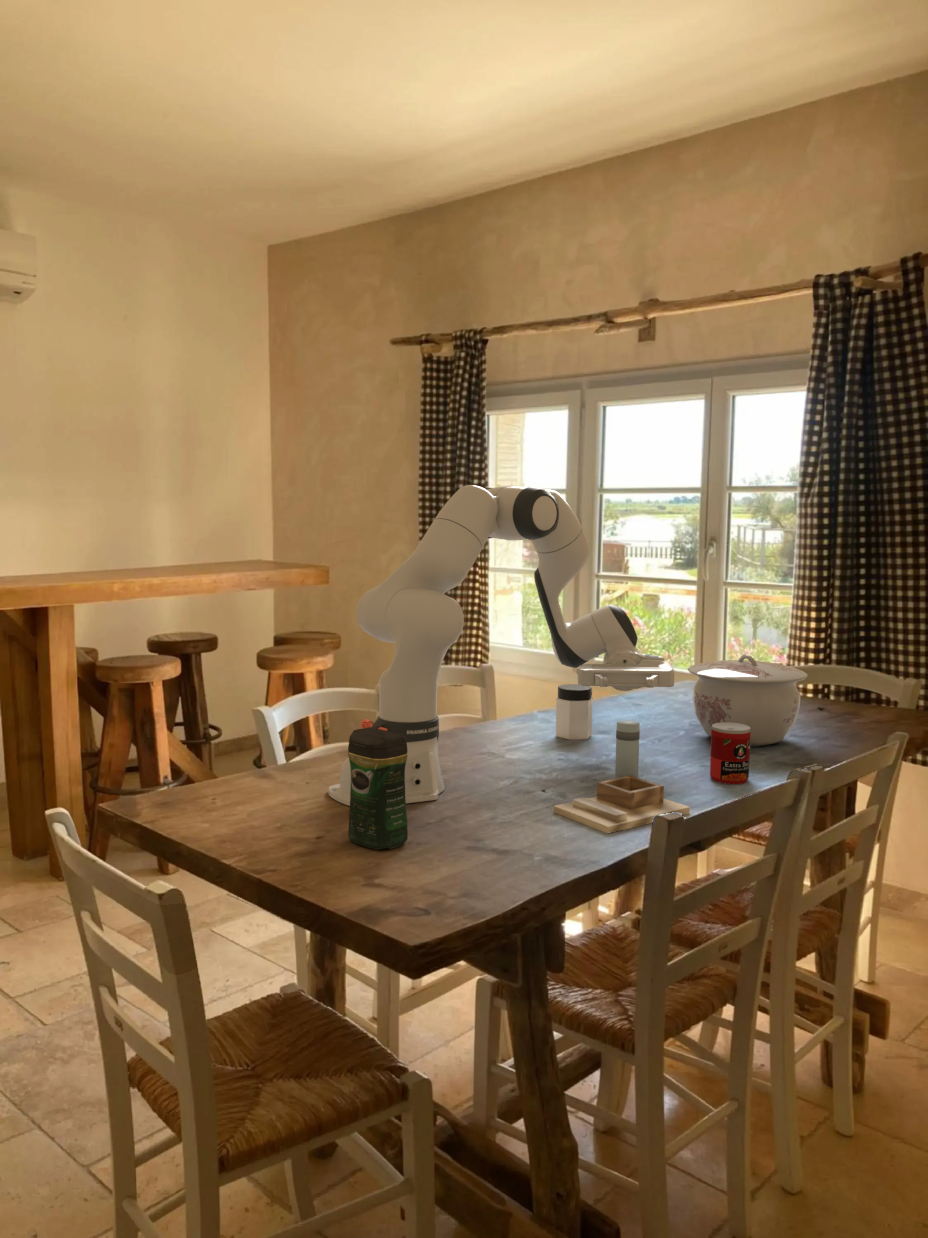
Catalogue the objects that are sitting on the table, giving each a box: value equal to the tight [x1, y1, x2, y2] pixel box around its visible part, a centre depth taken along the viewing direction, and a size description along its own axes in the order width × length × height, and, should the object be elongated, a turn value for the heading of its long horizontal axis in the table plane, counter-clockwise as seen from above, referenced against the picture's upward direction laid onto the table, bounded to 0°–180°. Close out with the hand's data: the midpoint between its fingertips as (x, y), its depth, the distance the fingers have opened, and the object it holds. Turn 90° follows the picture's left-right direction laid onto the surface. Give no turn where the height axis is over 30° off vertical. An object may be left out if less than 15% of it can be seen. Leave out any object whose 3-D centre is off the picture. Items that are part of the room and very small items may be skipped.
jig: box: [553, 775, 691, 834], centre depth 173 cm, size 20×14×4 cm
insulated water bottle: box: [614, 720, 641, 779], centre depth 189 cm, size 4×4×13 cm
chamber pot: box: [687, 653, 809, 747], centre depth 230 cm, size 28×28×21 cm
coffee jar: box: [347, 727, 409, 850], centre depth 156 cm, size 10×8×19 cm
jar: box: [555, 683, 594, 741], centre depth 233 cm, size 9×8×12 cm
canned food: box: [709, 722, 751, 785], centre depth 196 cm, size 8×8×11 cm
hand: (626, 683), depth 199 cm, fingers open, 8 cm apart
